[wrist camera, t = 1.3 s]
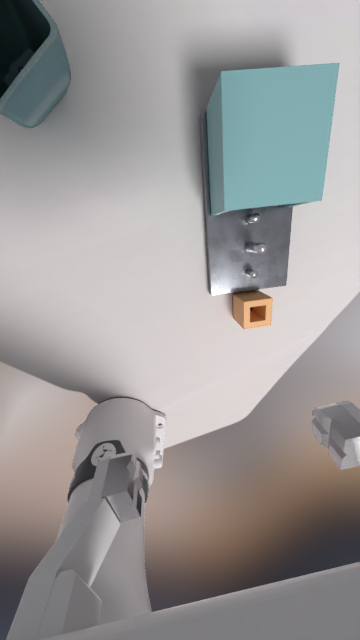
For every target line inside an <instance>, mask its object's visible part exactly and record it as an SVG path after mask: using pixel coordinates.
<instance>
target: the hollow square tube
mask: <svg viewBox="0 0 360 640" xmlns="http://www.w3.org/2000/svg"><path fill="white" fill-rule="evenodd" d="M272 301H273V298H271V297H270V296H268V295H266V294H264V293H262V292H260V291H251V292H244V293H236V294H233V318H234V319H235V320H236V321H237V322H238V324H239V325H240V326H241V327H242V328H243V329H248V328H254V327H261V326H268V325H271V318H272ZM250 307H252V310H251V311H250Z"/></svg>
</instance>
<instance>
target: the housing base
mask: <svg viewBox="0 0 360 640" xmlns="http://www.w3.org/2000/svg"><path fill="white" fill-rule="evenodd" d="M200 134H201V151H202V169H203V187H204V205H205V223H206V241H207V259H208V277H209V293H210V294H211V295H219V294H226V293H234V292H241V291H248V290H256V289H263V288H271V287H278V286H286V281H287V269H288V257H289V245H290V232H291V220H292V208H293V206H292V207H284V205H276V206H267V207H258V208H249V209H240V210H231V211H228V212H225V213H222V214H219V215H212V216H211V199H210V178H209V156H208V134H207V112H206V110H202V111H201V114H200Z"/></svg>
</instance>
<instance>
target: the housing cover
mask: <svg viewBox="0 0 360 640" xmlns="http://www.w3.org/2000/svg"><path fill="white" fill-rule="evenodd" d="M338 70H339V63H331V64H317V65H302V66H288V67H273V68H259V69H244V70H230V71H221V73H220V75H219V78H218V80H217V83H216V85H215V88H214V90H213V93H212V95H211V98H210V100H209V103H208V105H207V108H206V112H207V134H208V156H209V178H210V199H211V216H212V215H219V214H222V213H225V212H228V211H231V210H240V209H249V208H258V207H267V206H276V205H284V207H292V206H296V205H301V204H306V203H310V202H315V201H320V200H322V195H323V188H324V180H325V172H326V164H327V156H328V148H329V140H330V133H331V125H332V117H333V109H334V101H335V93H336V85H337V78H338Z"/></svg>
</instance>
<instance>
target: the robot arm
mask: <svg viewBox="0 0 360 640" xmlns="http://www.w3.org/2000/svg"><path fill="white" fill-rule="evenodd" d="M312 415H313V416H314V417H315V418H314V419H313V420H312V430H313V433H314V435H315V436H316V438H317V440H318V441H319V442H320V444H322V445H324V446H325V447H327V448H328V454H329V455H330V457H331V458H332V459H333V461H334V462H335V463H336V465H337V466H338V467H339V468H340V469H341V470H342V469H347V468H351V467H357V466H360V409H358V408H357V407H356V406H355V405H354V404H353V403H352V402H350V401H343V402H339V403H333V404H329V405H325V406H321V407H317V408H314V409H313V411H312ZM165 425H166V416H165V415H164V414H163V413H160V412H157V411H153V410H152V409H150V408H149V407H148V406H147V405H145V404H144V403H142V402H140V401H137V400H134V399H129V398H114V399H109V400H106V401H104V402H102V403H100V404H98V405H97V406H95V407H94V408H93V409H92V410H91V412H90V413H89V415H88V417H87V419H86V421H85V422H84V423H83V424H81V425H80V426H79V427H78V428H77V430H76V433H75V435H76V437H77V438H78V444H77V447H76V451H75V455H74V459H73V462H72V468H73V469H74V471H75V474H74V477H73V478H72V482H71V484H70V488H69V489H70V490H69V493H68V506H67V509H66V512H65V515H64V518H63V521H62V524H61V527H60V530H59V533H58V536H57V539H56V542H55V543H54V544H53V546H52V547H51V548H50V550H49V551H48V553H47V554H46V555H45V557H44V558H43V559H42V561H41V562H40V564H39V565H38V566H37V568H36V569H35V571H34V572H33V573H32V575H31V576H30V577H29V580H28V582H27V585H26V588H25V590H24V593H23V596H22V599H21V601H20V604H19V607H18V609H17V612H16V615H15V617H14V620H13V623H12V625H11V628H10V631H9V633H8V636H7V639H6V640H360V562H357V563H353V564H349V565H345V566H341V567H337V568H333V569H328V570H324V571H321V572H316V573H312V574H308V575H304V576H300V577H295V578H291V579H287V580H283V581H279V582H275V583H271V584H267V585H263V586H258V587H254V588H250V589H246V590H242V591H238V592H234V593H230V594H226V595H221V596H218V597H213V598H209V599H205V600H201V601H197V602H193V603H188V604H185V605H180V606H176V607H172V608H168V609H164V610H160V611H155V612H152V610H151V606H150V601H149V596H148V591H147V583H146V575H145V564H144V512H145V511H144V510H145V503H146V500H147V496H148V492H149V486H150V485H151V483H152V482H153V470H154V469H156V468H161V467H162V460H163V449H164V437H165Z"/></svg>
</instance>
